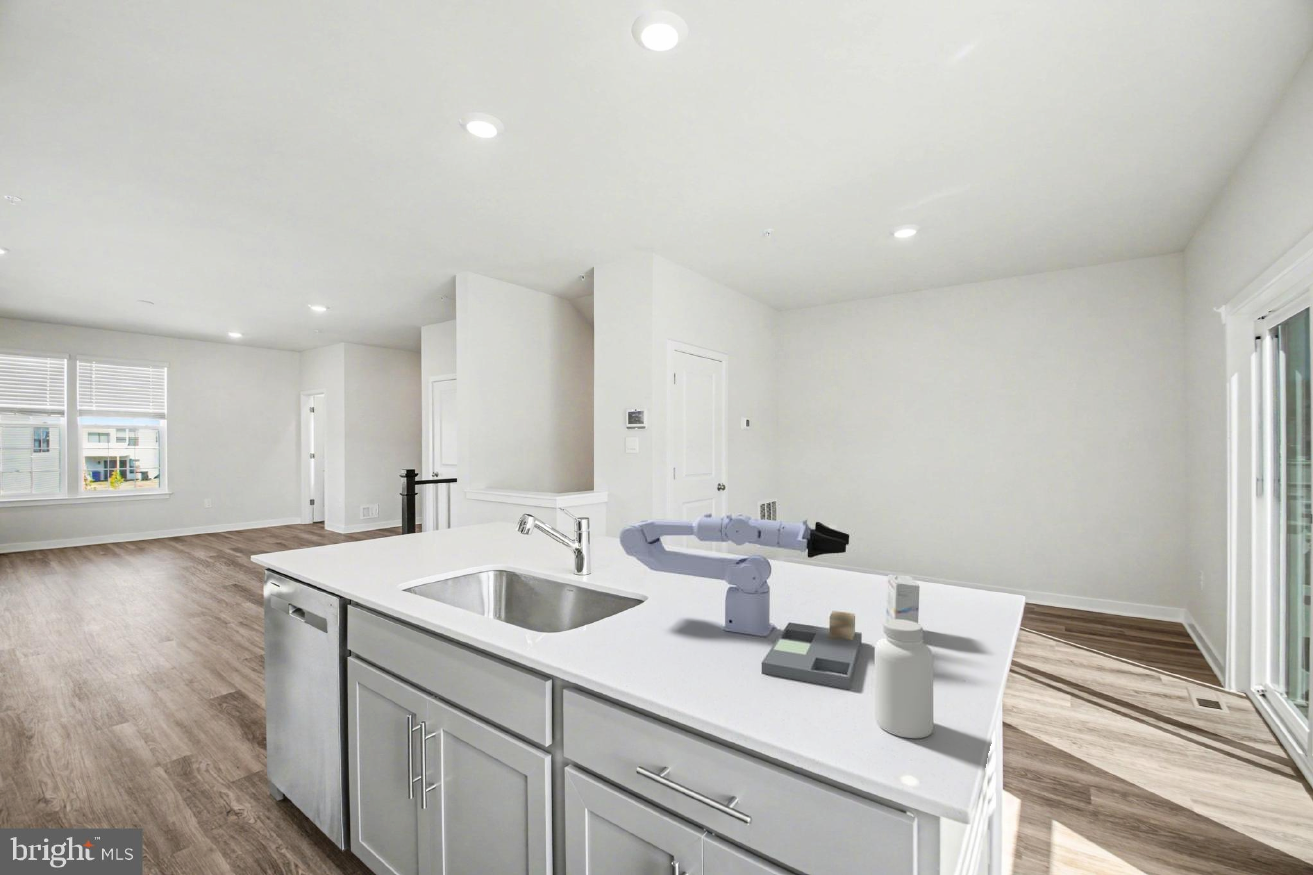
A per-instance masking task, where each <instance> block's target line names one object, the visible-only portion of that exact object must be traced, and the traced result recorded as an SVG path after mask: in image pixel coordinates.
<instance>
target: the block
mask: <svg viewBox="0 0 1313 875" xmlns="http://www.w3.org/2000/svg"><path fill="white" fill-rule="evenodd" d="M829 628H830V630H829V637H835V638H842V639H849V640H853V638H854V635H855V632H856V613H853V612H844V611H837V610H832V611H831V613H830V616H829Z"/></svg>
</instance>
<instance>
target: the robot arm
mask: <svg viewBox="0 0 1313 875" xmlns="http://www.w3.org/2000/svg"><path fill="white" fill-rule="evenodd" d="M725 515H726V516H720V515H719V516H716V515H715V516H714V515H713V516H712V513H711V512H709V513H704V514H703V515H701V516H699V517H698V518H697V519H696V520H693V521H692V520H679V519H678V520H677V519H664V518H663V519H662V518H661V519H656V518H655V519H651V520H648V519H646V520H641V521H640V522H637V523H635V524H630V525H626V526H625V527H623V528H622V530H620V532H619V543H620V545H621V547H622V549H623V550H624V552H625V554H626V555H627V556H629V557H633V558H635V559H636V560H638V562H640V563H641V564H643V565H644V566H645V567H647V568H648V569H649V570H651V571H654V572H661V573H669V574H676V575H683V576H691V577H698V578H705V579H712V580H720V581H724V582H726V583H727V584H728V585H730V586H729V587H728V588H727V589H726V594H725V602H724V608H725V609H724V616H725V617H724V627H723V630H724V631H727V632H733V633H740V634H745V635H746V634H747V635H751V636H752V635H753V636H758V637H768V636H769V634H770V633H771V631H772V630H773V629H774V627H775V623H771V622H770V621H771V620H770V619H771V618H770V617H771V616H770V615H771V613H770V612H771V611H770V608H771V606H770V605H771V604H770V603H771V602H770V601H771V599H770V598H771V597H770V596H771V594H770V593H771V590H770V589H771V588H770V586H769V583H768V581H767V580H768V579H770V577H771V574H772V565H771V562H770V561H769V559H767V558H766V557H765V556H764V555H761V554H753V555H750V556H737V557H725V556H715V555H708V554H707V555H706V554H698V553H690V552H682V551H674V550H666V548H665V547H664V545H663V542H662V539H661V538H662V537H663V536H667V537H668V536H695V538H697V540H698V541H700V542H712V543H713V542H715V543H716V542H717V543H719V542H720V543H729V541H730V542H731V543H732V544H735V545H736V546H742V545H745V544H751V545H758V546H763V547H769V548H777V549H784V550H790V551H791V550H793V551H799V552H801V553H806V551H807V558H810V559H812V558H815V557H817V556H822V555H828V554H829V555H830V554H842V553H843V554H844V553H846V551H847V546H849V544H850V533H849V534H848V533H846V532H843V531H840V530H837V529H833V528H831V527H829V526H827V525H825V524H823V523H821V522H820V521H816V522H815V524H814V526H815V527H811V526H809V524H808V518H803V519H802V523H797V522H787V521H781V520H780V521H779V520H772V519H765V518H764V519H758V518H751V517H750V516H747V515H744V514H738V515H736V516H735V517H732V514H725Z"/></svg>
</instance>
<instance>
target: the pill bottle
mask: <svg viewBox="0 0 1313 875" xmlns="http://www.w3.org/2000/svg"><path fill="white" fill-rule="evenodd" d="M882 628H883V637H882V638H880V639H879V640H878V641H877V642H876V643H875V646H874V718H875V719H874V720H875V722H876V724H877V726H879V727H880V729H882V730H883V731H885V732H887V733H890V734H891V735H895V736H897V737H902V738H906V739H923V738H925V737H928V736H930V735H931V734H932V732H933V730H934V655H933V652H932V650H931V648H930V647H929V646H928V645H927V644H926V643H924V637H923V636H924V633H923V632H924V631H923V626H922V625H921V624H920V623H919V622H918V623H916V622H913V621H908V620H901V619H892V620H887V621H886V620H885V621H884V622H883V627H882Z"/></svg>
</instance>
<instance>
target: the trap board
mask: <svg viewBox="0 0 1313 875" xmlns="http://www.w3.org/2000/svg"><path fill="white" fill-rule="evenodd" d="M829 630H830V627H824V626H817V625H810V624H803V623H795V622H788V623H787V624H786V626H785V627H784V629H783V631H781V633H780V635H779V636H778V638H777V639H776V641H775V642H774V644H773V645H772V646H771V648H770V649H769V651H768V652H767V654H766V655H765V657H764V658H763V659H762V661H761V674H762V675H769V676H774V677H780V678H785V679H790V680H795V681H801V682H806V683H813V684H815V685H817V684H818V685H822V686H826V687H827V686H828V687H834V688H837V689H838V688H839V689H844V690H850V688H851V685H852V682H853V677H854V673H855V669H856V665H857V661H858V657H859V654H860V650H861V647H862V643H863V642H862V636H863V634H862V633H863V632H860V631H859V632H858V631H855V635H854V638H853V640H849V639H842V638H835V637H829ZM816 669H818V670H816ZM819 670H824V671H819ZM825 671H830V672H825ZM832 672H835V673H832ZM837 673H842V674H846V675H841V674H837Z"/></svg>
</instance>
